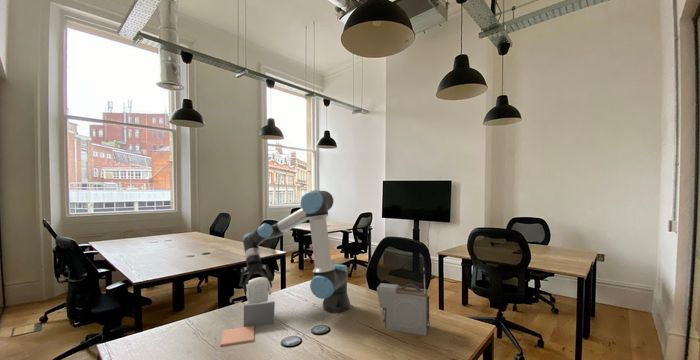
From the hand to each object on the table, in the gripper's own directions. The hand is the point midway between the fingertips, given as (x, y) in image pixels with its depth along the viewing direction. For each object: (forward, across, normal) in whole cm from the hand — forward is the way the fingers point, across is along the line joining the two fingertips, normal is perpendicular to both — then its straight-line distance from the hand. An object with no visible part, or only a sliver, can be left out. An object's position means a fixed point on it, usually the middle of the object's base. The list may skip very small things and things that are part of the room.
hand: (259, 295), depth 144 cm
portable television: (+40, -57, +22) cm, 72 cm away
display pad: (+18, +12, +2) cm, 22 cm away
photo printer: (+1, 0, -5) cm, 5 cm away
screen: (+13, +2, -3) cm, 13 cm away
